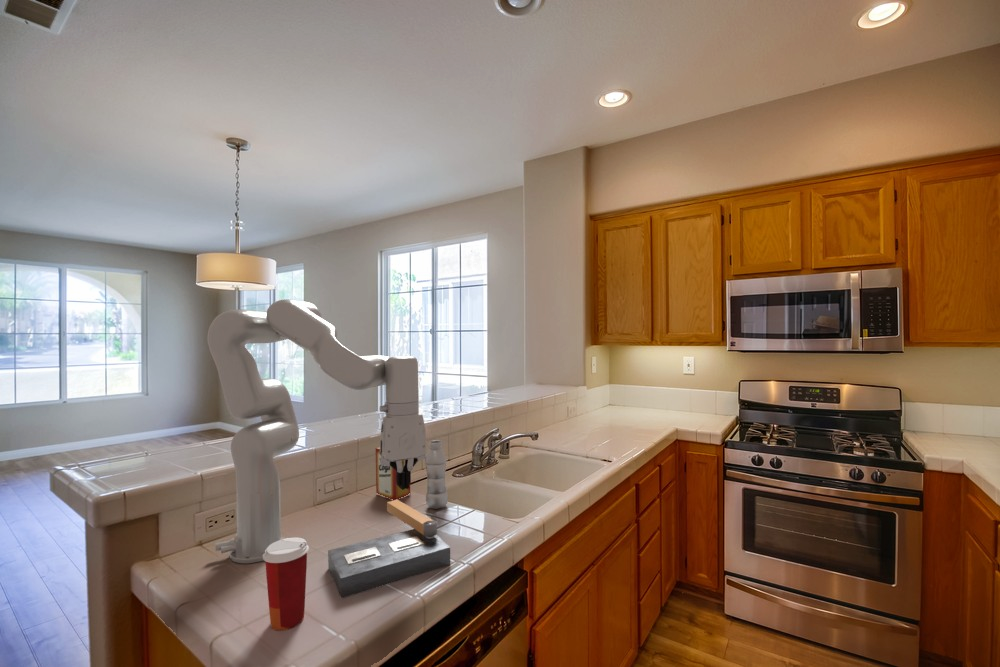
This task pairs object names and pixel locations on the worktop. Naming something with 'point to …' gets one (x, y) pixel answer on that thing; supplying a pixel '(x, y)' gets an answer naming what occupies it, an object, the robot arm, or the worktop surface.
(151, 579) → the worktop surface
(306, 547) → the paper cup
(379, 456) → the red and yellow box
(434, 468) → the plastic bottle
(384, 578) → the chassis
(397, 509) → the light orange bar
